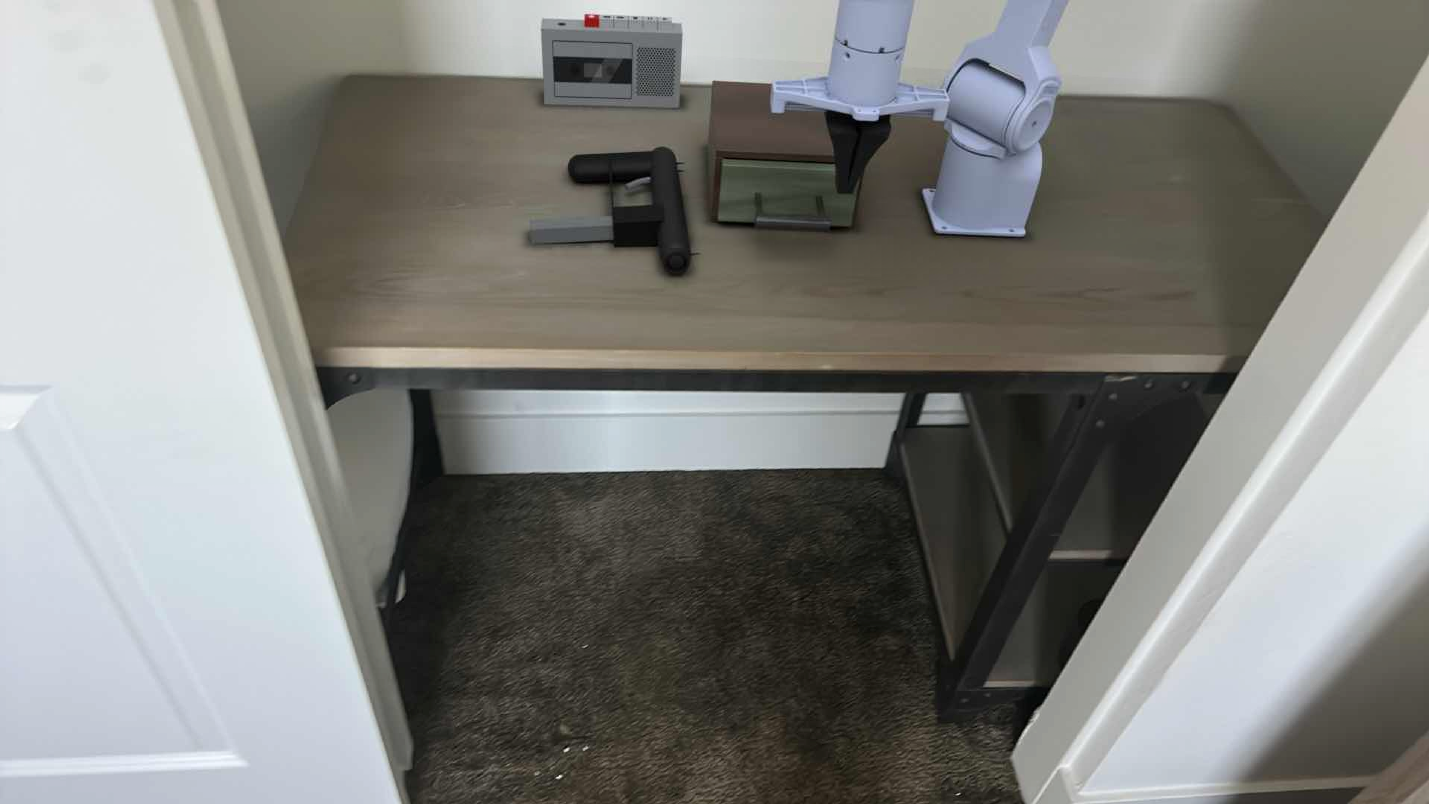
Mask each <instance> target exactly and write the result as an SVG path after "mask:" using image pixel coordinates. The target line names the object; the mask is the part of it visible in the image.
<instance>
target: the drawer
mask: <svg viewBox="0 0 1429 804" xmlns="http://www.w3.org/2000/svg"><path fill="white" fill-rule="evenodd" d="M859 179H860V178H859ZM858 185H859V180H858V182H857V184H856V187H855V189H854V192H853V194H838V193H837V190H836V185H835V163H834V162H832V164H819V163H797V162H793V161H791V160H770V159H748V158H727V157H724V159H722V165H721V177H720V190H719V202H718V221H737V222H755V223H754V230H759V231H760V230H761V231H762V230H763V231H784V232H785V231H787V232H810V233H812V232H813V233H829V232H830V229H831V227H830V225H831V226H851V222H852V217H853V212H854V206H855V201H856V196H857V190H858Z"/></svg>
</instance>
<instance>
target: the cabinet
mask: <svg viewBox="0 0 1429 804" xmlns="http://www.w3.org/2000/svg"><path fill="white" fill-rule="evenodd" d="M771 88H772V83H768V82H767V83H766V82H749V81H747V82H745V81H728V80H727V81H725V80H712V81H711V93H710V108H709V120H708V121H709V122H708V136H707V137H708V139H707V164H708V165H707V166H708V167H707V168H708V186H709V187H708V188H709V189H708V191H709V209H710V210H709V211H710V212H709V213H710V222H712V223H731V224H732V223H735V224H755V222H737V221H718V202H719V190H720V177H721V165H722V159H724V157H727V158H748V159H770V160H791V161H813V162H834V163H835V157H834V149H833V144H832V141H831V138H830V135H829V132H828V128H827V124H826V119H825V115H824V112H823V111H803V110H785V112H784V113H772V112H771V106H770V97H771ZM865 171H866V168H865V169H864V170H863V172H862V174H861V176H860V179H859V185H858V190H857V196H856V201H855V206H854V212H853V217H852V222H851V226H831V225H830V228H851V229H853V228H855V223H856V218H857V212H858V207H859V201H860V197H861V191H862V186H863V181H864V176H865Z"/></svg>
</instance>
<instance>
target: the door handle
mask: <svg viewBox="0 0 1429 804" xmlns="http://www.w3.org/2000/svg"><path fill="white" fill-rule="evenodd" d="M684 164H685V162H679V161H678V160H677V156H676V154H675V152H674V151H673V150H672V149H671V148H669V147H667V146H657V147H655V148H654V149H652V150H644V151H643V150H642V151H622V152H621V151H620V152H603V153H601V152H599V153H581V154H580V153H579V154H575V155H573V156H571V157H570V159H569V161H568V163H567V173H568V175H569V177H570V178H571V179H572V180H573V181H575V182H578V183H584V182H604V181H606V182H607V181H609V187H610V202H611V215H604V216H603V215H602V216H600V215H599V216H584V217H583V216H582V217H580V216H579V217H564V218H563V217H562V218H546V219H530V220H529V233H530V241H531V245H538V244H558V243H575V242H576V243H577V242H594V241H597V242H598V241H613V247H614V248H629V247H644V246H645V247H646V246H658V253H659V254H658V255H659V259H660V262H661V264H662V266H663V269H664V270H665V271H666V272H667V273H669V274H672V275H679V274H680V275H681V274H683V273H684V272H686V271H687V270H688V269H689V268H690V264H691V260H692V256H696V255H701V252H692V248H691V242H690V238H689V230H688V225H687V217H686V211H685V205H684V197H683V191H682V186H681V180H680V173H683V172H684V170H682V169H681V170H680V169H679V167H678V165H684ZM624 180H625V181H626V180H632V181H630V182H628V183H626V184H624V190H625V191H627V192H629V191H631V190H632V189H634V188H637V187H641V186H644V185H648V184H650V188H651V197H652V204H644V205H643V204H641V205H640V204H639V205H624V206H623V205H622V206H615V205H614V193H613V192H614V191H613V181H624Z"/></svg>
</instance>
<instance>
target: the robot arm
mask: <svg viewBox="0 0 1429 804" xmlns="http://www.w3.org/2000/svg"><path fill="white" fill-rule="evenodd" d="M1069 1H1070V0H1007V2H1006V4H1005V6H1004V9H1003V11H1002V12H1001V15H1000V18H999V20H998V23H997V25H996V28H995V29H994V31H993V32H991V33H989V34H987V35H983V36H980V37H978V38H976V39H973V40H971V41H969V42H967V43H965V44H964V46H963V49H962V51H961V53H960V55H959V57H958V58H957V61H956V62H955V63H954V65H953V66H952V67H951V69H950V70H949V71H948V73H947V74H946V75H945V77H944V79H943V81H942V83H941V86H940V88H936V87H935V88H934V87H927V86H922V85H919V84H918V85H917V84H913V83H907V82H904V81H900V76H901V72H902V66H903V61H904V56H905V52H906V48H907V47H906V46H907V41H908V35H909V32H910V31H909V30H910V26H911V20H912V16H913V12H914V11H913V10H914V7H915V2H916V0H839V1H838V6H837V14H836V18H835V19H836V20H835V26H834V34H833V40H832V47H831V54H830V59H829V67H828V72H827V75H824V76H815V77H807V78H799V79H789V80H778V79H777V80H775V79H774V80H772V81H771V84H772V88H771V97H770V106H771V112H772V113H784V112H785V110H803V111H823V112H824V115H825V119H826V124H827V128H828V132H829V135H830V138H831V141H832V144H833V149H834V157H835V185H836V190H837V193H838V194H853V192H854V189H855V187H856V184H857V182H858V180H859V178H860V176H861V174H862V172H863V170H864V169H865V170H866V167H867V165H868V164H869V162H870V161H871V159H872V158H873V156H874V155H875V154H876V153H877V152H878V150H879V149H880V148H881V147H882V146H883V145H884V144H885V143H886V142H887V141H888V140H889V137H890V135H891V133H892V126H893V125H892V123H891V117H892V116H905V117H907V116H908V117H923V118H924V117H926V118H927V117H928V118H931V120H932V121H934V122H944V126H943V129H944V130H946V131H947V132H948V136H947V140H946V145H945V149H944V153H943V157H942V161H941V166H940V169H939V172H938V173H939V174H938V178H937V182H936V185H935V188H923V189H922V191H921V195H922V198H923V201H924V204H925V207H926V210H927V214H928V216H929V220H930V222H931V225H932V229H933V231H934V232H935V233H936V234H945V235H946V234H947V235H969V236H993V237H1016V238H1021V237H1023V238H1024V237H1025V236H1026V233H1027V232H1026V229H1025V227H1026V225H1027V221H1028V218H1029V214H1030V212H1031V208H1032V205H1033V202H1034V200H1035V196H1036V193H1037V190H1038V187H1039V184H1040V180H1041V175H1042V169H1043V168H1042V167H1043V151H1042V146H1041V144H1040V142H1039V141H1040V140H1041V139H1042V137H1044V134H1045V133H1046V131H1047V129H1048V127H1049V126H1050V123H1051V120H1052V117H1053V114H1054V107H1055V103H1056V100H1057V98H1058V95H1059V92H1060V89H1061V86H1062V84H1063V80H1062V77H1061V74H1060V73H1059V70H1058V69H1057V67H1056V65H1055V63H1054V61H1053V59H1052V57H1051V54H1050V53H1049V49H1048V48H1049V46H1050V43H1051V41H1052V39H1053V36H1054V34H1055V32H1056V30H1057V28H1058V26H1059V24H1060V22H1061V19H1062V17H1063V15H1064V13H1065V10H1066V8H1067V6H1068V4H1069ZM998 68H999V69H998ZM1006 72H1007V73H1006ZM1012 75H1013V76H1012Z"/></svg>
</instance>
